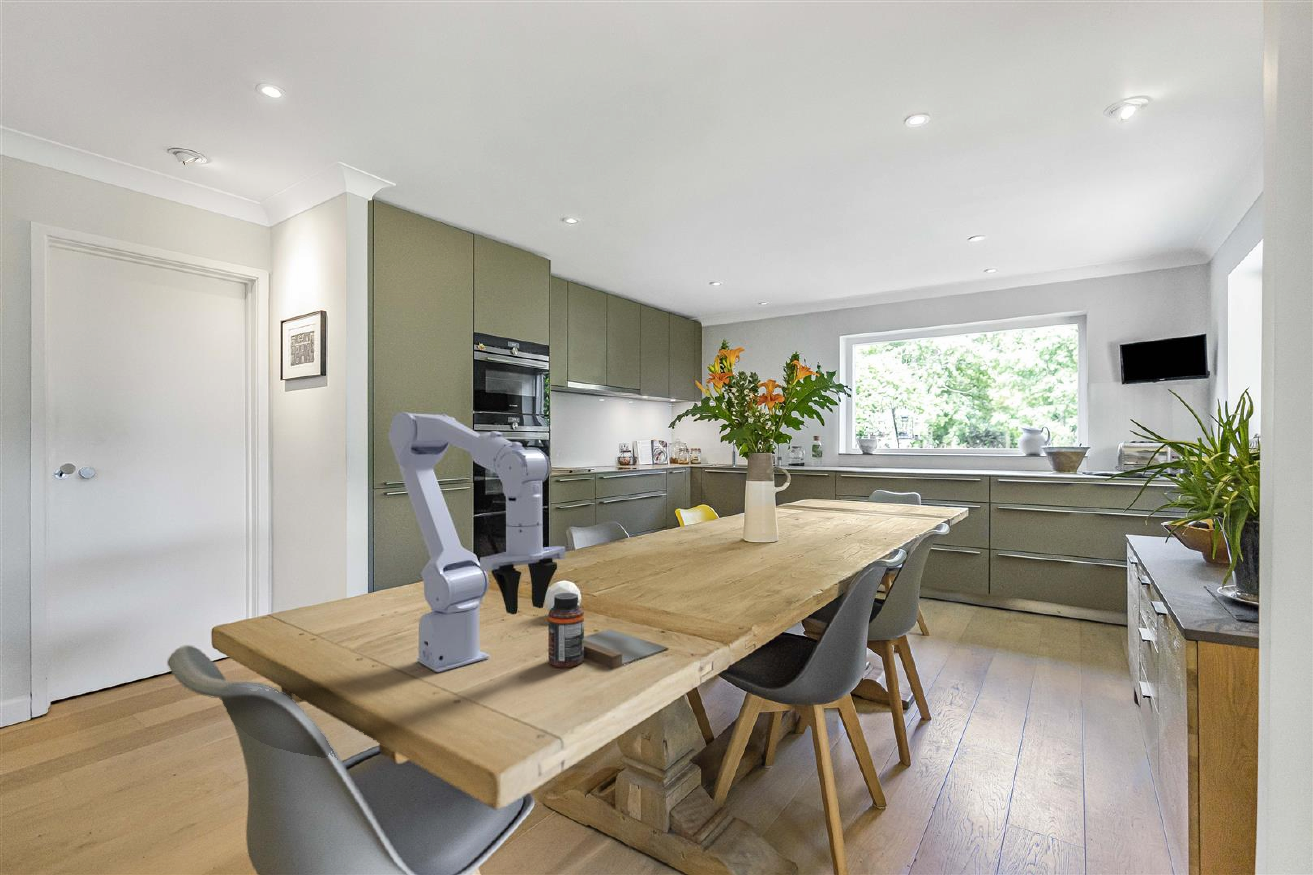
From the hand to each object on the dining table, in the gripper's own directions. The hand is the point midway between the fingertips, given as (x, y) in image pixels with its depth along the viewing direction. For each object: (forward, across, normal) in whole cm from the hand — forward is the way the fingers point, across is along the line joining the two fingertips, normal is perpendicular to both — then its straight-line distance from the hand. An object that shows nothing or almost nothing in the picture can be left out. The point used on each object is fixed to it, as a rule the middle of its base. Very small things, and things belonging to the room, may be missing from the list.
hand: (525, 609), depth 95 cm
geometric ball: (+11, +24, +23) cm, 35 cm away
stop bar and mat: (+10, +18, 0) cm, 21 cm away
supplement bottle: (+11, +8, 0) cm, 13 cm away
